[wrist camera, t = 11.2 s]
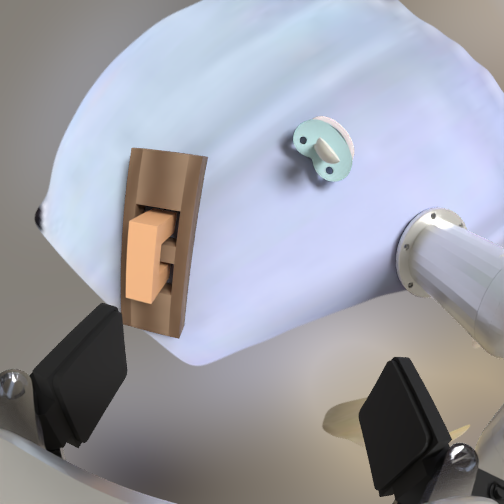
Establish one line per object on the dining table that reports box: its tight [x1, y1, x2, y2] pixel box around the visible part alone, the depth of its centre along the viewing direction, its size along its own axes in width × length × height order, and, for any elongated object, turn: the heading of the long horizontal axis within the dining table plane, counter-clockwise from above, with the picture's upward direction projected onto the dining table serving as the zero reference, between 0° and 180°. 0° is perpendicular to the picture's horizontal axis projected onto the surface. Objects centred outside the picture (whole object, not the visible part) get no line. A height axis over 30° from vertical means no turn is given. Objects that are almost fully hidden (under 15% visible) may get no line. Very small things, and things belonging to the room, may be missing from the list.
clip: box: [126, 208, 177, 304], centre depth 30 cm, size 3×8×7 cm, turn 168°
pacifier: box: [293, 116, 354, 182], centre depth 27 cm, size 7×6×6 cm
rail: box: [121, 148, 208, 338], centre depth 32 cm, size 8×22×3 cm, turn 169°
